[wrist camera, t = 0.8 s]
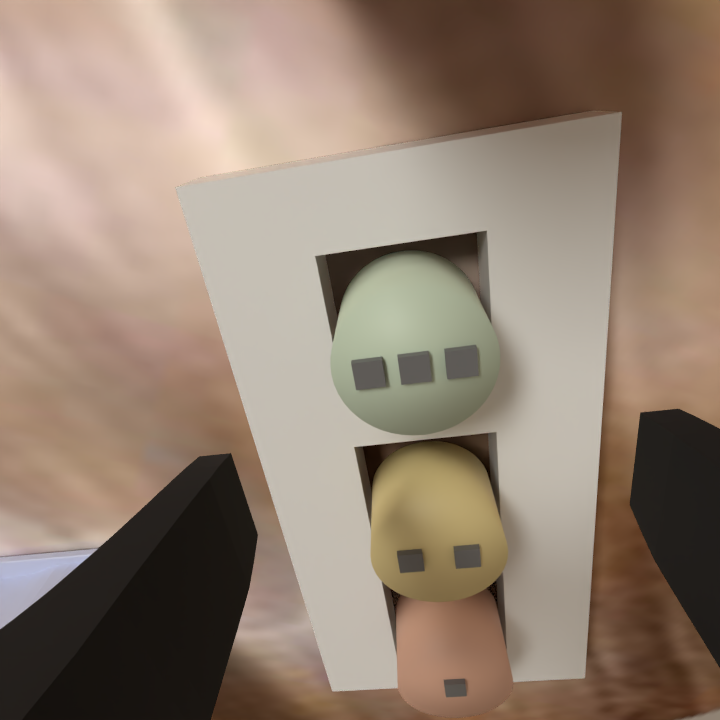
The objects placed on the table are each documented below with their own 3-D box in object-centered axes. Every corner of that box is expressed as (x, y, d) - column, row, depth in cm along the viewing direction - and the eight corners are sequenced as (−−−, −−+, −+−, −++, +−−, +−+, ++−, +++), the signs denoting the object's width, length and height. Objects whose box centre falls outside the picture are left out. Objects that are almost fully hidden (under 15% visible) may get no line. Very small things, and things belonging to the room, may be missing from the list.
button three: (352, 386, 17) (345, 447, 14) (327, 261, 15) (314, 301, 12) (482, 371, 17) (504, 430, 14) (475, 240, 15) (498, 275, 12)
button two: (381, 535, 20) (380, 611, 17) (364, 447, 18) (360, 516, 15) (492, 526, 20) (511, 602, 17) (486, 434, 18) (507, 502, 15)
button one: (402, 645, 23) (405, 725, 20) (389, 580, 22) (390, 658, 18) (498, 638, 23) (515, 720, 20) (494, 571, 21) (513, 650, 18)
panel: (335, 651, 27) (332, 691, 25) (198, 177, 16) (175, 187, 14) (570, 637, 25) (584, 678, 24) (593, 110, 15) (621, 112, 13)
